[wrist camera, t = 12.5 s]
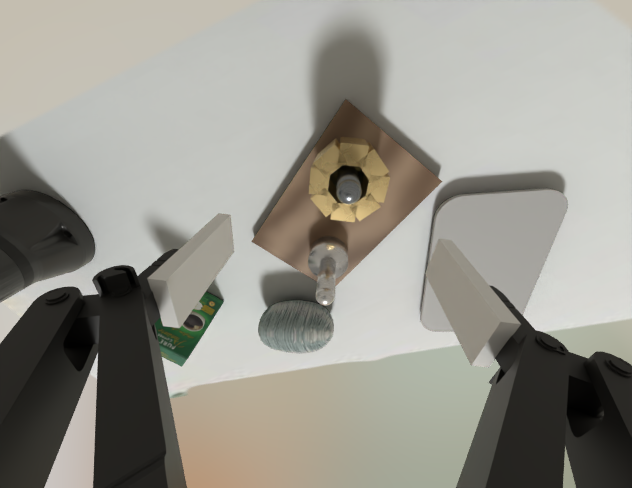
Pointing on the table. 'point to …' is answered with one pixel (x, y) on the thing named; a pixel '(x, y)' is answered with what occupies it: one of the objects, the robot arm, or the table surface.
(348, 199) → the metal peg stand
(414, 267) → the table surface
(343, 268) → the stand rod
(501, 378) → the robot arm
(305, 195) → the walnut plate
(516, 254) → the tablet
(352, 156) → the tan boxy piece
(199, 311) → the coffee box
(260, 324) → the grey marbled egg
